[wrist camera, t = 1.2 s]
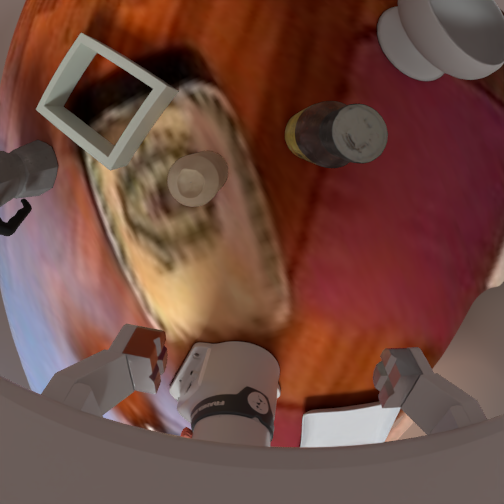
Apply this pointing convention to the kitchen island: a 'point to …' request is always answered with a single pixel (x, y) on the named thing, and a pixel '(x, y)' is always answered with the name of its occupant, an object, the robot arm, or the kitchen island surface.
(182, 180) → the candle
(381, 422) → the salad plate
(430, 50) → the chalice
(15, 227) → the coffeepot
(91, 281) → the kitchen island surface
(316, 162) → the sauce bottle
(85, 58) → the grey rectangular frame
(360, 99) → the kitchen island surface
